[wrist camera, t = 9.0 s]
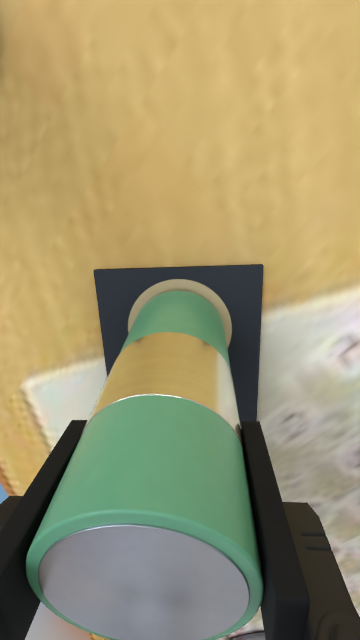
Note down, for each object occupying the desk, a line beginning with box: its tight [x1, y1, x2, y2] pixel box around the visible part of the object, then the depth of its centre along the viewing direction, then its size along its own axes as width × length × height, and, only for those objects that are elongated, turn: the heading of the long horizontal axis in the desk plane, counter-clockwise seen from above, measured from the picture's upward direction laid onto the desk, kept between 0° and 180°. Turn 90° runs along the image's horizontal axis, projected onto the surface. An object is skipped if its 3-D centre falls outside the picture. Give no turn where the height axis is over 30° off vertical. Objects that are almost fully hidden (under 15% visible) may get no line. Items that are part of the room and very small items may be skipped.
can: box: [26, 291, 264, 640], centre depth 16 cm, size 16×7×7 cm
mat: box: [94, 264, 263, 428], centre depth 26 cm, size 26×12×1 cm, turn 2°
